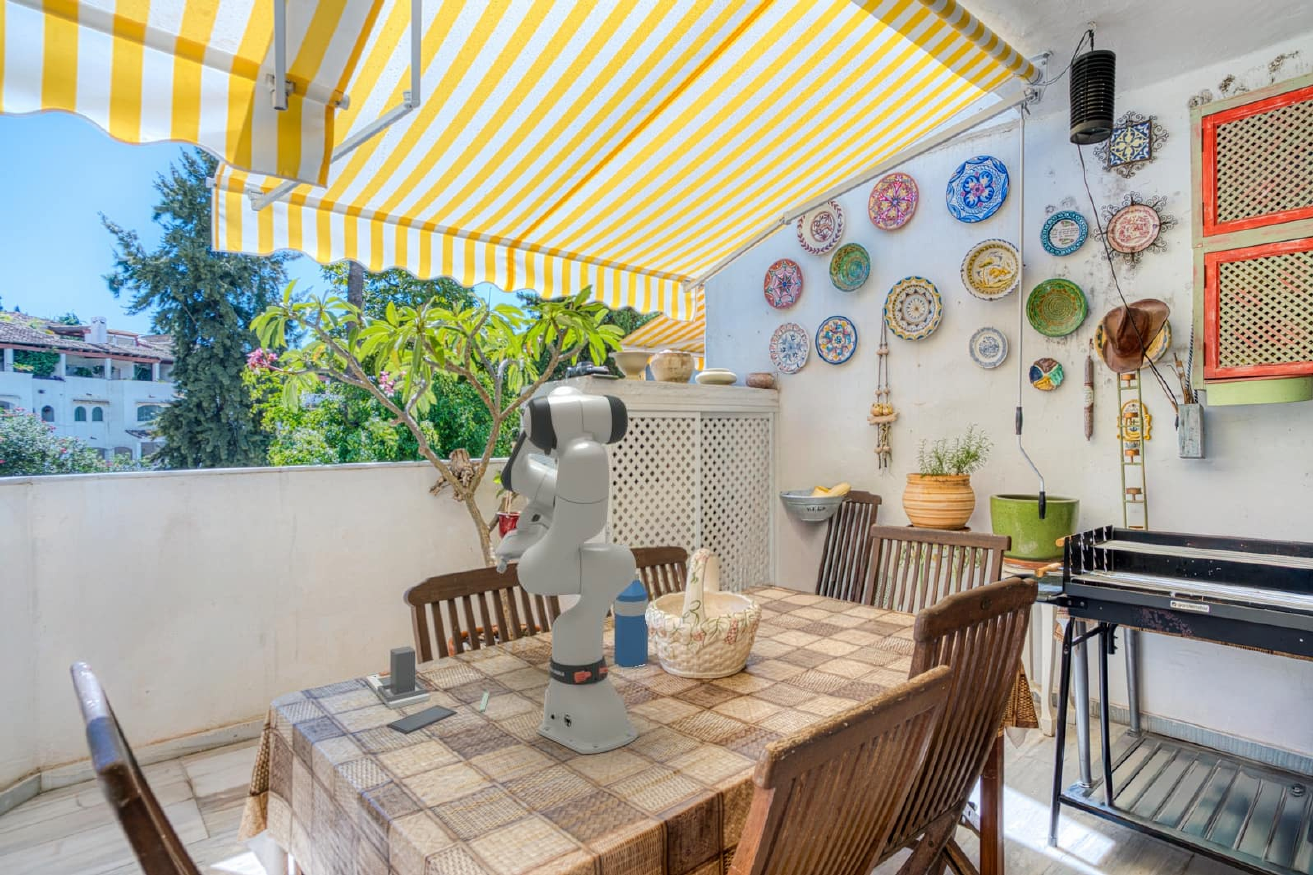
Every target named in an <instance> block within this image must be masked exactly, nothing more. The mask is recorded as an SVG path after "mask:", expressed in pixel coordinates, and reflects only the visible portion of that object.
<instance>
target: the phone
mask: <svg viewBox="0 0 1313 875" xmlns="http://www.w3.org/2000/svg"><path fill="white" fill-rule="evenodd" d="M457 714H458V712H457V711H455V710H453V709H450V708H446V707H444V706H442V705H438V704H436V705H433V706H431V707H429V708H426V709H423V710H421V711H418V712H415V713H413V714H411V715H408V716H405V717H403V718H400V719H397V720H395V721H393V722H390V723H387V724H386V726H385V727H387V728H390V729H391V730H394V731H397V732H399V733H401V734H404V735H409V734H411V733H413V732H416V731H418V730H421V729H423V728H426V727H428V726H430V725H433V724H435V723H438V722H440V721H442V720H445V719H447V718H449V717H452V716H455V715H457Z"/></svg>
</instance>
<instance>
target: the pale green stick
mask: <svg viewBox="0 0 1313 875" xmlns="http://www.w3.org/2000/svg"><path fill="white" fill-rule="evenodd" d="M489 697H490V692H484V693H483V696H482V699H481V702H480V705H479V710H478V711H479V713H485V712H486V708H487V706H486V705H488V701H489Z"/></svg>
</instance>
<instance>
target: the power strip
mask: <svg viewBox="0 0 1313 875" xmlns="http://www.w3.org/2000/svg"><path fill="white" fill-rule="evenodd" d="M385 673H386V674H385ZM379 675H380V676H379ZM374 676H376V677H374ZM365 683H366V684H367V685H368V686H369V687H370V689H371V690H372V691H373V692H374V693H375V694H376V695H377V696H378V698H380V700H381V701H382V702H383V703H384V704H385V705H386V707H388V709H389V710H393V709H399V708H402V707H406V706H411V705H416V704H419V703H424V702H428V701H430V700H431V695H430V694H429V689H428V687H426V685H424V684H423V683H422V682H421V681H420V680H419V679H418V678H417V677H415V691H411V692H407V693H402V694H398V695H393V693H392V692H391V691H390V670H389V669H388V670H385V671H380V672H379V673H378V674H372V675H369V676H365Z"/></svg>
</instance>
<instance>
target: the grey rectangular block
mask: <svg viewBox="0 0 1313 875" xmlns="http://www.w3.org/2000/svg"><path fill="white" fill-rule="evenodd" d="M389 658H390V660H389V661H390V664H389V665H390V666H389V668H390V691H391V692H392V693H393V695H398V694H402V693H407V692H411V691H415V678H416V650H415V649H414V648H413V647H412V646H410V645H407V646H402V647H397V648H392V649H390V657H389Z"/></svg>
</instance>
